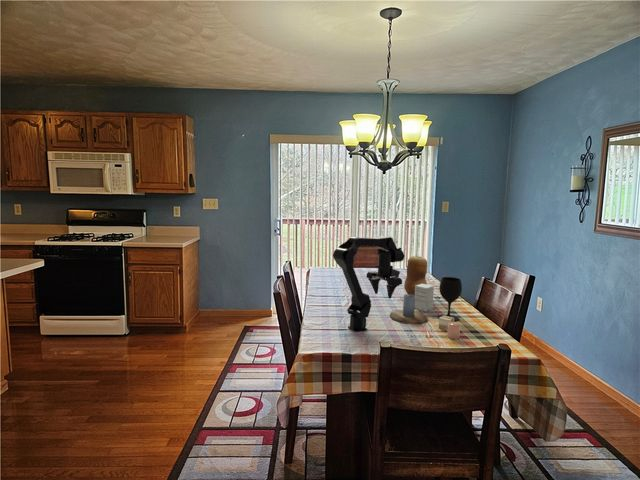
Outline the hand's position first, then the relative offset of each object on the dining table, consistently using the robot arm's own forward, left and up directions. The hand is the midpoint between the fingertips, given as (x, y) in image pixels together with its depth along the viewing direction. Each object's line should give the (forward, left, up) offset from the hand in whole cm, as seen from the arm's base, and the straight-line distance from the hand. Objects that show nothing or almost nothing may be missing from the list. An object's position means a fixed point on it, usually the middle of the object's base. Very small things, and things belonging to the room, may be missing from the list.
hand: (383, 296), depth 182 cm
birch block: (+23, -18, -13) cm, 32 cm away
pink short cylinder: (+17, -28, -13) cm, 35 cm away
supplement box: (+35, +10, -13) cm, 39 cm away
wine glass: (+35, -8, -13) cm, 38 cm away
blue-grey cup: (+17, +1, -12) cm, 21 cm away
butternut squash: (+45, +28, -13) cm, 55 cm away
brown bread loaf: (+17, +1, -13) cm, 21 cm away
